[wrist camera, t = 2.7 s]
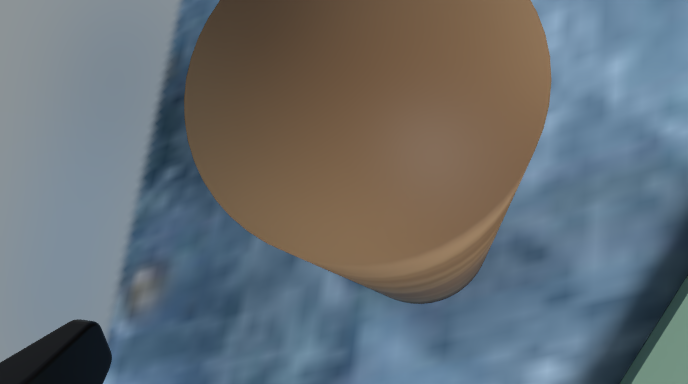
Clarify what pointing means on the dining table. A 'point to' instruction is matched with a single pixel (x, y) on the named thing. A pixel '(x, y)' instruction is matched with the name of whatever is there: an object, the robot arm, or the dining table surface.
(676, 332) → the standoff plate
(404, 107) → the walnut cylinder
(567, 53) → the dining table surface
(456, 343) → the dining table surface
